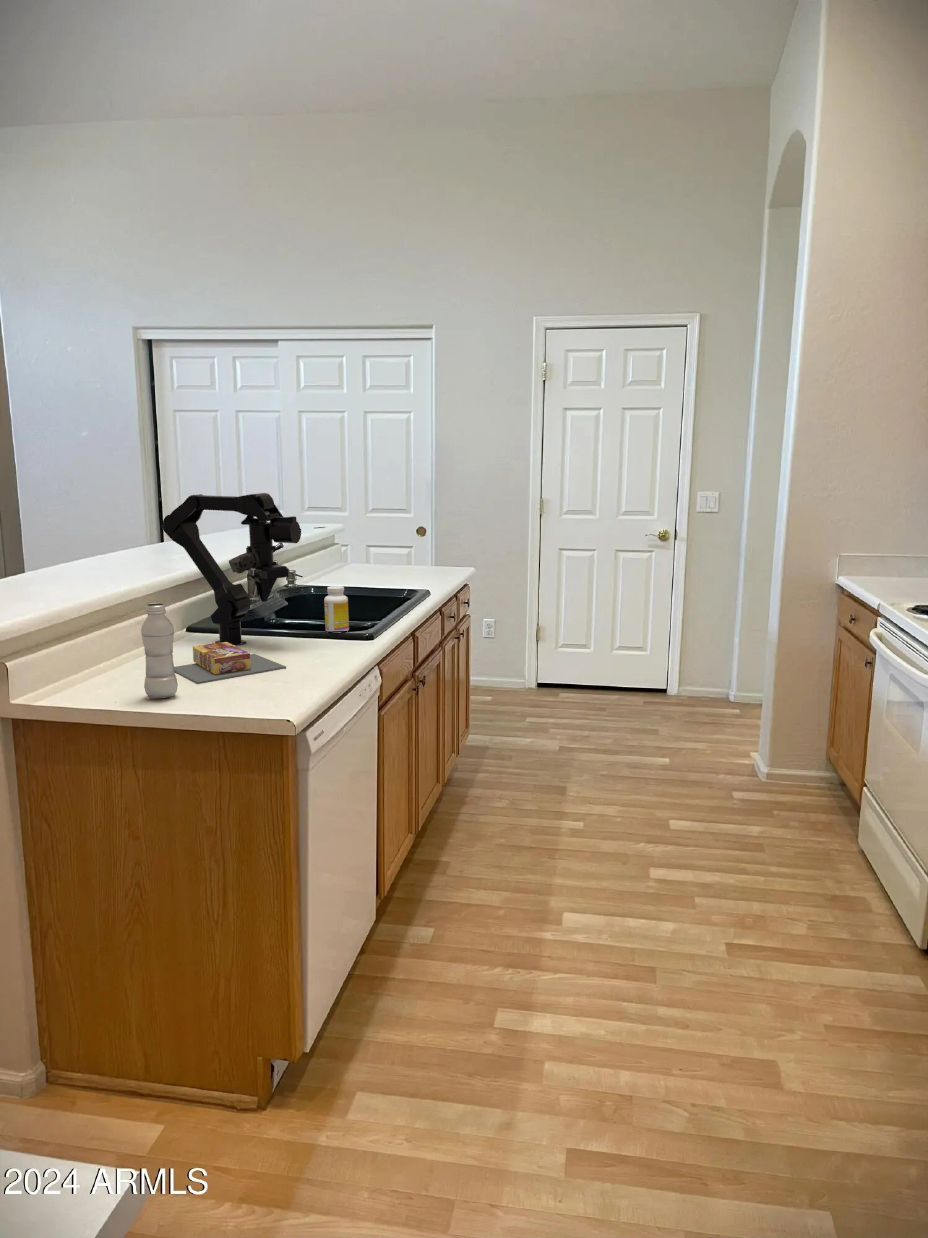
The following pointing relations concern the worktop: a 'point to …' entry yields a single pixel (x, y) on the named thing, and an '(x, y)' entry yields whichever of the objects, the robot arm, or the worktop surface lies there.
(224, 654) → the candy box
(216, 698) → the worktop surface
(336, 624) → the supplement bottle
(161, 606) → the plastic bottle
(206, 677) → the mat
